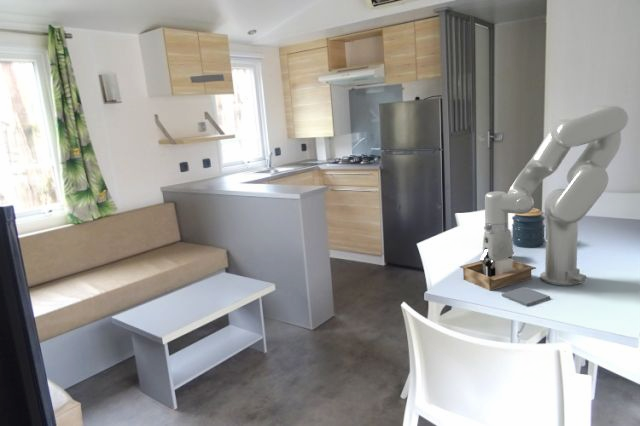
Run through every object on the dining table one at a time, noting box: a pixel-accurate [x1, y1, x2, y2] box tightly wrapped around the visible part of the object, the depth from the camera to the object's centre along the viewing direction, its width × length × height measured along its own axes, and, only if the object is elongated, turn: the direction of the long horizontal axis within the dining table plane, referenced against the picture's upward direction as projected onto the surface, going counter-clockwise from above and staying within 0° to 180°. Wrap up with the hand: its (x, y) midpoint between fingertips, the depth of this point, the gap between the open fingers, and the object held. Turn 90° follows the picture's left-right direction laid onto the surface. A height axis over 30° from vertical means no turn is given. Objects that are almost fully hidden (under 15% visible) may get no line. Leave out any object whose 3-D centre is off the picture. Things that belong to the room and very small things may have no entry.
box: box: [483, 258, 514, 276], centre depth 161 cm, size 9×5×8 cm, turn 24°
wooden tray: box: [459, 260, 537, 291], centre depth 161 cm, size 17×19×4 cm
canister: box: [511, 207, 546, 248], centre depth 196 cm, size 13×13×18 cm
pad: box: [501, 286, 551, 307], centre depth 144 cm, size 10×10×1 cm
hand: (497, 275), depth 162 cm, fingers closed on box, 5 cm apart
